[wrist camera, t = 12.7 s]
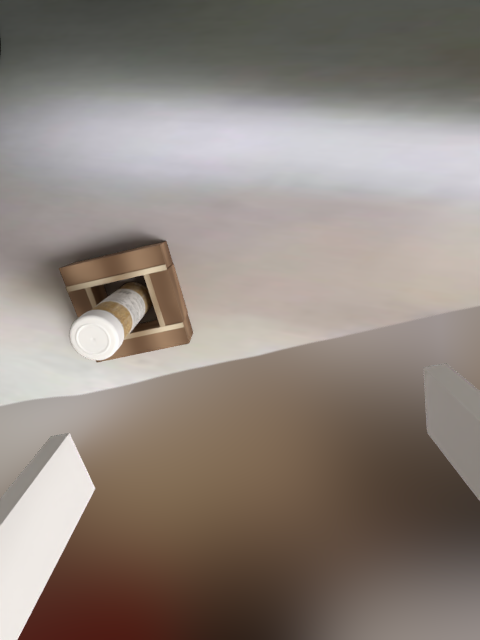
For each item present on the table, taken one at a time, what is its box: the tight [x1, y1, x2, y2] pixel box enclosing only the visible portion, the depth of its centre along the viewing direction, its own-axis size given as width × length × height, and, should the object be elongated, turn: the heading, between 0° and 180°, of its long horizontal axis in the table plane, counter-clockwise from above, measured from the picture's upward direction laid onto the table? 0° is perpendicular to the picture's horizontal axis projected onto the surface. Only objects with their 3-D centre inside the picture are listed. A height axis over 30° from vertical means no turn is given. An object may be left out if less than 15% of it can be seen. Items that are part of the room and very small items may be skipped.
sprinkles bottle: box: [69, 282, 152, 360], centre depth 38 cm, size 5×5×13 cm
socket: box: [59, 241, 193, 362], centre depth 43 cm, size 12×12×4 cm
